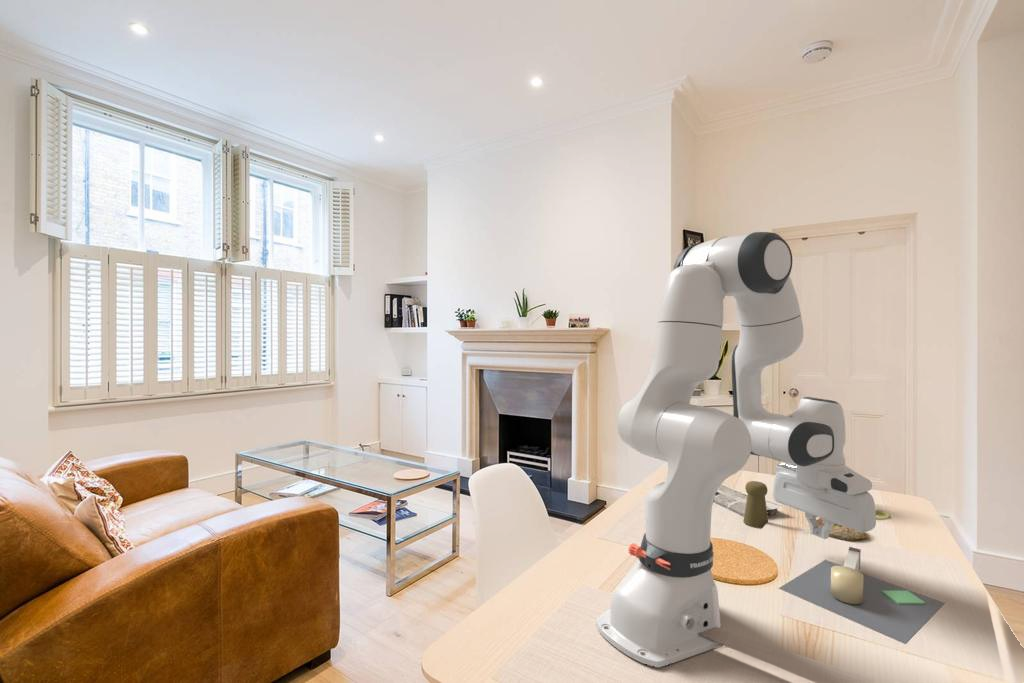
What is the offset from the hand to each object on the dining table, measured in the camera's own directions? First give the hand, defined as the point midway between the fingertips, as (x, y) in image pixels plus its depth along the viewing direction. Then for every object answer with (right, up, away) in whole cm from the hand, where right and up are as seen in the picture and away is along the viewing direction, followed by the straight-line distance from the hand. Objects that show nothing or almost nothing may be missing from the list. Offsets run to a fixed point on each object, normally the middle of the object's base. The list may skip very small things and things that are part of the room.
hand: (819, 536), depth 104 cm
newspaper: (-2, -6, +45) cm, 45 cm away
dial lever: (0, -6, -9) cm, 11 cm away
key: (+33, -7, +32) cm, 47 cm away
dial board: (0, -8, -12) cm, 15 cm away
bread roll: (+17, -7, +19) cm, 26 cm away
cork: (-1, -7, +24) cm, 25 cm away
